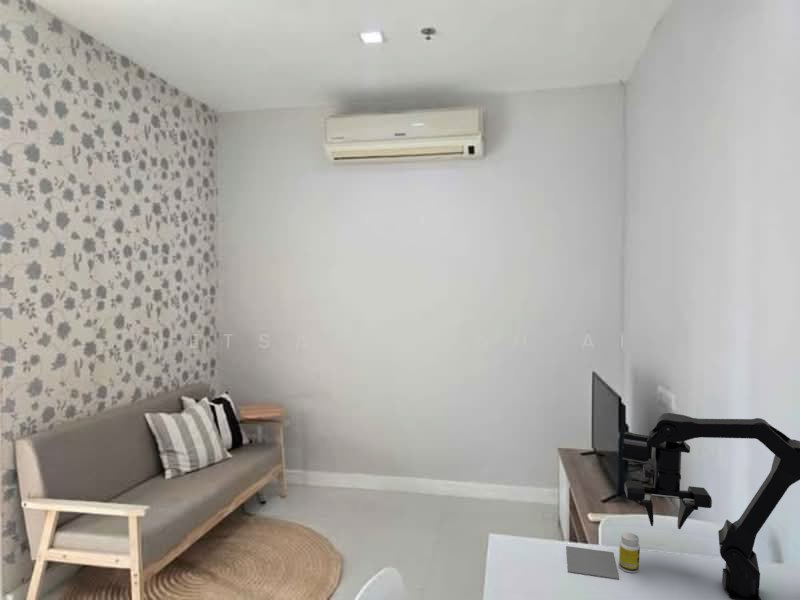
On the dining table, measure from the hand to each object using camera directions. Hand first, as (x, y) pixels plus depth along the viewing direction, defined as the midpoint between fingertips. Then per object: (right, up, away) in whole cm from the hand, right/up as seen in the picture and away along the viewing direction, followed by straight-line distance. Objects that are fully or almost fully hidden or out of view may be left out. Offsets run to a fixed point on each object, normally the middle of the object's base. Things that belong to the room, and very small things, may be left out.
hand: (665, 526), depth 133 cm
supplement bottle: (-8, -12, +3) cm, 15 cm away
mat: (-16, -12, +6) cm, 21 cm away
